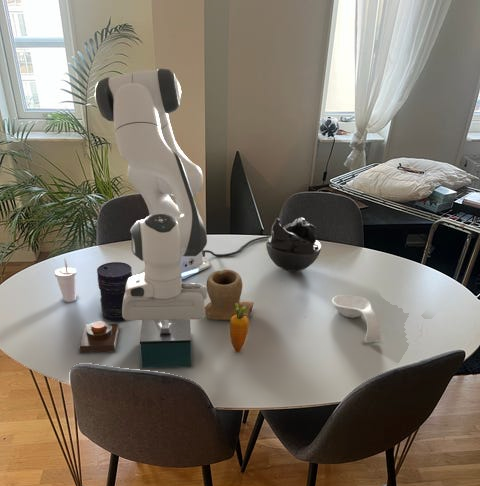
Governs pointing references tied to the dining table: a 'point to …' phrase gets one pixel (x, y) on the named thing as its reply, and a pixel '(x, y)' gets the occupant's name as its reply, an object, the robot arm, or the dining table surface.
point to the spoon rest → (359, 313)
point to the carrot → (238, 328)
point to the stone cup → (225, 295)
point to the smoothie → (67, 282)
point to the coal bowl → (293, 245)
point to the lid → (178, 334)
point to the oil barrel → (113, 289)
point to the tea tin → (165, 355)
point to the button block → (99, 339)
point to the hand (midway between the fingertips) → (165, 332)
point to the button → (98, 327)
